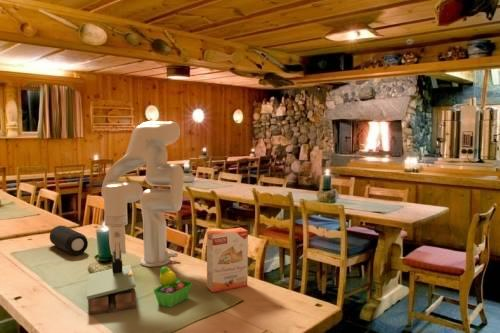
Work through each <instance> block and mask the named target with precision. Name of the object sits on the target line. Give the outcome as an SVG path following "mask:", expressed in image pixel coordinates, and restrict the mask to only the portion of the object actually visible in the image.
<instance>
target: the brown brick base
mask: <svg viewBox="0 0 500 333" xmlns="http://www.w3.org/2000/svg"><path fill="white" fill-rule="evenodd" d="M135 288H136V287H135ZM135 288H131V289H127V290H123V291H119V292H115V293H113V295H114V305H115V308H114V309H113V310H111V309H110V301H109V294H107V295H103V296H99V297H95V298H92V299H88V300H87V308H88V309H87V310H88V316H93V315H99V314H104V313H105V314H106V313H111V312H112V313H113V312H118V311H125V310H132V309H136V297H137V296H136V294H137V291H136V289H135Z"/></svg>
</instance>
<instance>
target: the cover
mask: <svg viewBox="0 0 500 333" xmlns="http://www.w3.org/2000/svg"><path fill="white" fill-rule="evenodd" d="M131 265H132V264H126V265H122V272H121V273H113V271H112V268H109V269H105V270H101V271H96V272H93V273H88V274H87V285H86V299H87V301H88V299H92V298H95V297H99V296H103V295H107V294H111V293H115V292H119V291H123V290H127V289H131V288H136V283H135V278H134V274H133V271H132V266H131Z"/></svg>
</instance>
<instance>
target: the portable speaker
mask: <svg viewBox="0 0 500 333" xmlns="http://www.w3.org/2000/svg"><path fill="white" fill-rule="evenodd" d="M49 240H50V242H51V244H53V245H54V246H56V247H57V248H59V249H61V250H63V251H64V252H66V253H68V254H70V255H73V256H77V255H80V254H83V253H84V252H85V251H86V250H87V248H88V245H89V243H88V238H87V236H86V235H85V234H83V233H80V232H78V231H76V230H74V229H72V228H70V227H67V226H65V225H57V226H55V227H53V228H52V230H51V231H50V234H49Z"/></svg>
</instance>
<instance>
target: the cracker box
mask: <svg viewBox="0 0 500 333" xmlns="http://www.w3.org/2000/svg"><path fill="white" fill-rule="evenodd" d="M248 251H249V230H247V229H245V228H243V227H236V228H226V229H218V230H209V231H206V287H207V289H208V290H210V291H211V292H212V293H215V292H216V293H217V292H221V291H227V290H232V289H238V288H243V287H247V286H248V273H249V272H248V271H249V270H248V267H249V266H248V265H249V262H248V261H249V260H248V257H249V256H248V255H249V252H248Z"/></svg>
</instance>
